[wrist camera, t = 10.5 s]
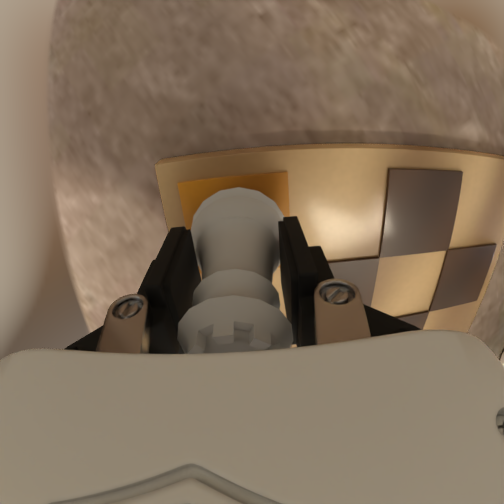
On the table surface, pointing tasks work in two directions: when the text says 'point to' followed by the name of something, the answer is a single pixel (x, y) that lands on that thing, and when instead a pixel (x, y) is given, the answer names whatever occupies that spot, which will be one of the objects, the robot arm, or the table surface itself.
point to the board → (370, 217)
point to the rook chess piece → (236, 277)
